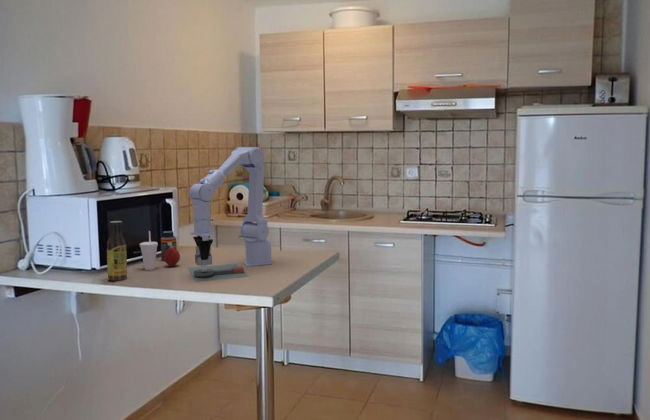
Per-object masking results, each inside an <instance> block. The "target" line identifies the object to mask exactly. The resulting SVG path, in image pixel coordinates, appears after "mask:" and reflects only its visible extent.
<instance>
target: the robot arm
mask: <svg viewBox="0 0 650 420" xmlns="http://www.w3.org/2000/svg"><path fill="white" fill-rule="evenodd" d="M230 154H231V155H230V156H229V157H228V158H227V159H226V160H225V161H224V162H223V163H222V164H221V166H219V168H218V169H210V170H208V171H207V173H208V174H206V175H205V176H204V177H203V178H202V179H200V180H199V182H198V183H194V184H192V186H191V187H190V188H189V192H188V196H189V198H190V199H191V204H192V212H193V213H192V214H193V215H192V217H193V219H192V220H193V231H190V232H189V233H190V235H191V236H193V235H194V236H193V237H192V238H193V240H194V242H195V245H196V246H198V247H199V251H200V256H201V259H202V260H208V257H209V251H210V247H211V246H212V244H213V242H214V240H213V239H211V235H212V234H213V232H212V221H211V220H212V219H211V200H212V199H213V198H214V194H215V192H216V190H218V189H219V188H220V186H222V185H223V184H224V183H225V180H226V176H228V174H230V173H231V172H232V171H234V170H235V169H236V168H237V167H238V166H241V167H243V168H244V169H245V170H246V171H247V172H248V173H249V174H248V177H249V178H248V197H247V198H248V199H247V214H246V215H245V217H243V218H242V224H241V226H240V230H239V231H240V235H241V237H243V240H244V242H245V243H244V245H245V246H244V247H245V260H243V261H242V262H243V263H244V265H245V266H246V267H250V266H251V267H252V266H262V265H263V266H265V265H272V243H271V241H270V240H269V239H267V238H268V236H269V234H270V233H269V232H270V229H269V226H268V219H266V217H265V216H263V206H264V204H263V203H264V184H265V183H264V181H265V166H264V159H265V158H264V157H265V153H264V152H263V151H262V150H261V149H260V147H258V146H253V147H251V146H250V147H248V146H247V147H243V146H238V147H237V146H236V148H234V150H232V151H231V153H230Z"/></svg>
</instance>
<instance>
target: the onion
mask: <svg viewBox="0 0 650 420" xmlns="http://www.w3.org/2000/svg"><path fill="white" fill-rule="evenodd" d="M173 247H174V246H170V248H169V249H168V250H167V251H166V252H165V254H164V261H163V262H165V263H166V265H168V266H169V267H174V266H176V265H177V264H178V263H179V262H180V259H181V255H180V252H179V251H178V249H177V250H176V249H175V248H173Z"/></svg>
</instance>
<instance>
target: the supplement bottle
mask: <svg viewBox="0 0 650 420" xmlns="http://www.w3.org/2000/svg"><path fill="white" fill-rule="evenodd" d="M162 235H163V236H161V238H160V254H161V256H160V257H161V261H163V262H165V261H164V254H165V252H166V251H167V250H168V249H169V248H170V246H174V247H173V248H175V249H176V250H177V251H178V249H177V246H178V245H177V237H176V236H175V235H174V231H172V230H166V231H162Z"/></svg>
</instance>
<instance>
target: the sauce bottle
mask: <svg viewBox="0 0 650 420" xmlns="http://www.w3.org/2000/svg"><path fill="white" fill-rule="evenodd" d="M109 229H110V233H109V234H110V235H109V237H108V239H107V241H106V262H107V264H106V265H107V268H106V269H107V279H108V281H112V282H115V281H116V282H119V281H124V280H126V279H127V278H128V276H127V275H128V261H127V259H128V258H127V257H128V256H127V244H126V241H125V238H124V235H123V221H122V220H113V221H109Z"/></svg>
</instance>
